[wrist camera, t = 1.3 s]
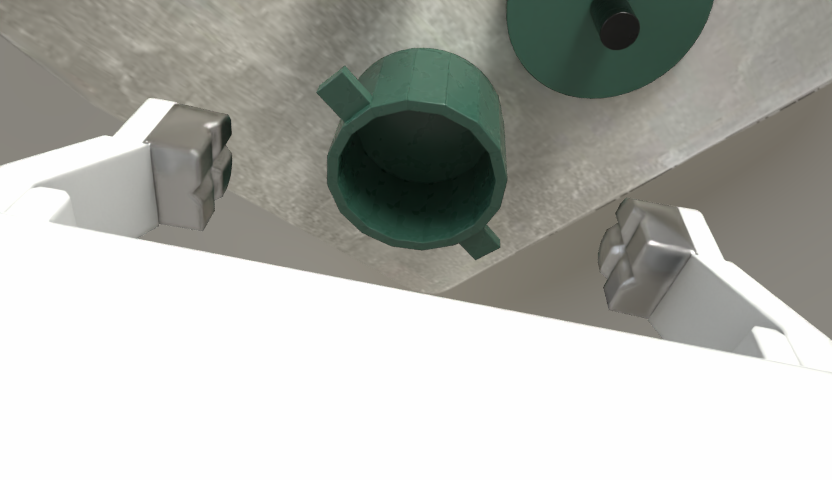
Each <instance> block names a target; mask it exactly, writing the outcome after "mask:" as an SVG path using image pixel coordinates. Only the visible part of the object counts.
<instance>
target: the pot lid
mask: <svg viewBox="0 0 832 480" xmlns="http://www.w3.org/2000/svg"><path fill="white" fill-rule="evenodd" d="M713 1H714V0H507V6H506V18H507V26H508V33H509V37H510V40H511V44H512V46H513V48H514V51H515V53H516V55H517V57H518V58H519V60H520V62H521V63H522V65H523V66H524V67H525V68H526V70H527V71H528V72H529V73H530V74H531V75H532V76H533V77H534V78H535V79H537V80H538V81H539V82H541V83H542V84H544V85H545V86H547V87H548V88H551V89H553V90H555V91H557V92H559V93H562V94H565V95H568V96H573V97H578V98H590V99H594V98H607V97H614V96H618V95H622V94H626V93H629V92H631V91H634V90H637V89H639V88H641V87H643V86H645V85H647V84H649V83H651V82H653V81H654V80H656V79H657V78H659V77H661V76H662V75H664V74H665V73H666V72H667V71H669V70H670V69H671V68H672V67H673V66H675V65H676V64H677V63H678V62H679V61H680V60H681V59H682V58H683V57H684V56H685V54H686V53H687V52H688V51H689V49H690V48H691V47H692V46H693V44H694V43H695V41H696V40H697V38H698V37H699V35H700V34H701V32H702V30H703V28H704V26H705V24H706V22H707V20H708V17H709V14H710V11H711V9H712V5H713Z"/></svg>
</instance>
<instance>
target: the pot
mask: <svg viewBox="0 0 832 480" xmlns="http://www.w3.org/2000/svg"><path fill="white" fill-rule="evenodd" d="M316 93H317V94H318V95H319V96H320V97H321V98H322V99H323V100H324V101H325V102H326V103H327V104H328V105H329V107H330V108H331V109H332V110H333V111H334V112H335V113H336V114H337V115H338V116H339V117H340V118H341V119H340V122H339V125H338V128H337V130H336V133H335V136H334V138H333V141H332V144H331V147H330V149H329V152H328V155H327V185H328V187H329V190H330V192H331V194H332V196H333V198H334V200H335V202H336V205H337V207H338V209H339V211H340V213H342V214H343V215H344V216H345V217H346V218H347V219H348V220H349V221H350V222H351V223H352V224H353V225H354V226H355V227H356V228H357V229H358V230H360V231H361V232H362V233H364V234H366V235H368V236H370V237H372V238H374V239H377V240H379V241H381V242H383V243H385V244H387V245H390V246H393V247H400V248H408V249H415V250H428V249H434V248H440V247H446V246H453V245H456V244H458V243H459V244H460V245H461V246H462V247H463V248H464V249H465V250H466V251H467V252H468V253H469V254H470V255H471V256H472V257H473V258H474V259H475V260H477V259H479V258H481V257H483V256H485V255H487V254H489V253H491V252H493V251H495V250H497V249H499V248H500V239H499V238H498V237H497V236H496V235H495V233H494V232H493V231H492V230H491V229H490V228H489V227H488V226H487V223H488V222H489V221H490V220H491V218H492V217H493V216H494V215H495V214H496V212H497V211H498V210H499V209H500V207H501V203H502V199H503V195H504V191H505V187H506V183H507V165H506V148H505V131H504V120H503V116H502V110H501V105H500V102H499V98H498V95H497V93H496V91H495V89H494V87H493V86H492V84H491V83H490V81H489V80H488V79H487V77H486V76H485V75H484V74H483V73H482V72H481V71H480V70H479V69H478V68H477V67H475V66H474V65H473V64H471V63H470V62H468V61H467V60H465V59H463V58H461V57H459V56H457V55H455V54H452V53H449V52H446V51H443V50H438V49H431V48H412V49H407V50H401V51H398V52H395V53H392V54H390V55H388V56H386V57H383V58H381V59H380V60H378V61H377V62H375V63H374V64H373V65H372V66H370V67H369V68H368V69H367V70H366V71H365V72H364V73H363V74H362V75H361V76H360V77H359V79H358V80H357V79H356V77H355V76H354V75H353V74H352V73H351V72H350V71H349V70H348V68H347V67H346V66H344V67H342V68H341V69H340V70H339V71H337V72H336V73H335V74H334V75H332V76H331V77H330V78H329V79H327V80H326V81H325V82H323V83H322V84H321V85H320V86H319V88H318V90H317V92H316Z"/></svg>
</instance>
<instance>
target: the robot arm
mask: <svg viewBox="0 0 832 480" xmlns="http://www.w3.org/2000/svg"><path fill="white" fill-rule="evenodd" d="M231 135H232V131H231V119H230V117H229V115H228V114H224V113H220V112H215V111H211V110H206V109H202V108H198V107H193V106H189V105H184V104H180V103H179V104H178V103H176V102H172V101H167V100H161V99H156V98H149V99H147V100H146V101H145V102H144V103H143V104H142V106H141V107H140V108H139V109H138V110H137V111H136V112H135V113H134V114H133V115H132V116H131V117H130V118H129V119H128V120H127V122H126V123H125V124H124V125H123V126H122V127H121V128H120V129H119V130H118V131H117V133H115V134H114V136H112V137H109V136H100V137H97V138H94V139H90V140H87V141H83V142H80V143H77V144H73V145H70V146H66V147H63V148H60V149H56V150H53V151H49V152H46V153H42V154H39V155H35V156H32V157H28V158H26V159H22V160H18V161H15V162H11V163H8V164H4V165H1V166H0V480H832V341H831V340H830V339H829V338H828V337H827V336H825V335H824V334H823V333H821V332H820V331H819V330H818V329H817V328H815V327H814V326H813V325H811V324H810V323H809V322H807V321H806V320H805V319H804V318H803V317H801V316H800V315H799V314H797V313H796V312H795V311H794V310H792V309H791V308H790V307H788V306H787V305H786V304H785V303H783V302H782V301H781V300H779V299H778V298H777V297H776V296H774V295H773V294H772V293H771V292H769V291H768V290H767V289H765V288H764V287H763V286H761V285H760V284H759V283H758V282H757V281H755V280H754V279H753V278H751V277H750V276H749V275H748V274H746V273H745V272H744V271H742V270H741V269H740V268H739V267H737V266H736V265H735V264H734V263H732V262H728V261H725V260H724V258H723V256H722V254H721V252H720V250H719V248H718V246H717V244H716V242H715V240H714V238H713V236H712V234H711V231H710V230H709V227H708V225H707V223H706V221H705V219H704V217H703V215H702V214H701V213H700V212H699V211H697V210H694V209H688V208H681V207H676V206H669V205H664V204H659V203H653V202H648V201H642V200H637V199H631V198H625V199H624V201H623V202H622V203H621V204H620V206H619V207H618V209H617V211H616V217H617V220H618V223H617V224H615V225H614V226H612V227H610V228H609V229H607V230H606V232H605V234H604V236H603V239H602V240H601V243H600V248H599V252H598V265H599V270H600V273H601V274H602V275H603V276H605V278H606V279H607V281H606V283H605V285H604V287H603V288H604V292H605V296H606V300H607V304H608V308H609V310H611V311H615V312H620V313H624V314H629V315H634V316H638V317H642V318H647V319H648V321H649V323H650V324H651V325H652V326H653V327H654V329H655V330H656V331H657V332H658V333H659V335H660V336H661V337H662V339H663V340H662V339H657V338H652V337H647V336H641V335H636V334H631V333H626V332H620V331H615V330H610V329H604V328H600V327H594V326H589V325H584V324H579V323H574V322H568V321H563V320H558V319H552V318H547V317H542V316H537V315H532V314H527V313H521V312H516V311H511V310H506V309H500V308H495V307H490V306H484V305H480V304H474V303H469V302H464V301H458V300H453V299H448V298H443V297H438V296H433V295H427V294H422V293H417V292H412V291H406V290H401V289H396V288H391V287H386V286H381V285H375V284H370V283H365V282H359V281H354V280H349V279H344V278H338V277H333V276H328V275H323V274H318V273H313V272H308V271H302V270H297V269H292V268H286V267H281V266H276V265H271V264H266V263H260V262H255V261H250V260H244V259H240V258H235V257H229V256H224V255H219V254H214V253H208V252H203V251H198V250H193V249H188V248H183V247H177V246H172V245H167V244H162V243H156V242H151V241H145V240H140V239H138V238H139V237H141V236H143V235H144V234H146V233H148V232H149V231H151V230H153V229H155V228H156V227H158V226H159V224H163V225H168V226H174V227H180V228H186V229H192V230H198V231H203V230H204V229H205V227H206V225H207V223H208V222H209V219H210V218H211V216H212V214H213V213H214V211H215V203H214V201H215V200H217V199H219V198H221V197H223V195H224V193H225V191H226V189H227V187H228V183H229V180H230V176H231V169H232V153H231V151H230V150H229V149H228V147H227V146H226V143H227V141H228V140H229V138H230V136H231Z"/></svg>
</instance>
